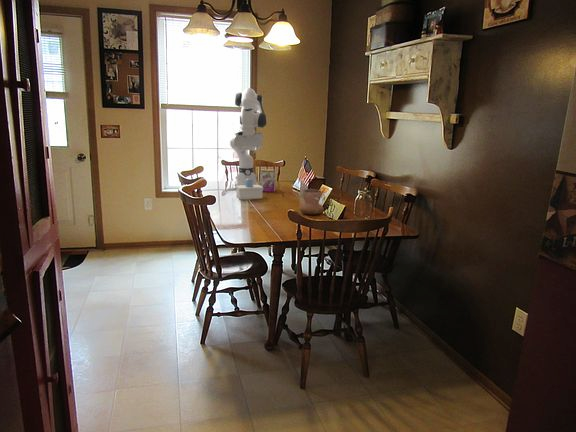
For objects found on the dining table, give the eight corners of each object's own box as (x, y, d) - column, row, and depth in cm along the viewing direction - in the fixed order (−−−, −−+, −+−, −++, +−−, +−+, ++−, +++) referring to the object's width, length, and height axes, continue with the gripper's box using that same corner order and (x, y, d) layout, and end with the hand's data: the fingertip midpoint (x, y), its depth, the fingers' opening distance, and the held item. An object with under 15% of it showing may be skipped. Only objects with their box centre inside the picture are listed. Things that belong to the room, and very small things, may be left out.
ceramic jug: (328, 216, 262) (329, 192, 259) (305, 217, 258) (305, 193, 254) (316, 209, 279) (317, 187, 275) (294, 211, 274) (295, 188, 271)
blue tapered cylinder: (245, 186, 309) (244, 178, 308) (252, 185, 310) (251, 178, 309) (246, 187, 304) (246, 179, 303) (253, 186, 305) (253, 179, 304)
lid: (235, 188, 311) (235, 185, 310) (258, 187, 316) (258, 184, 315) (239, 191, 299) (239, 188, 298) (263, 190, 304) (263, 187, 303)
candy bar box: (259, 191, 330) (259, 169, 326) (260, 190, 335) (260, 168, 331) (274, 192, 329) (274, 170, 325) (275, 190, 334) (275, 169, 330)
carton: (236, 196, 312) (236, 186, 311) (258, 195, 317) (258, 185, 315) (239, 200, 301) (239, 190, 300) (262, 198, 306) (262, 189, 304)
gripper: (261, 132, 306) (261, 152, 310) (232, 132, 300) (232, 152, 304) (263, 132, 300) (263, 153, 304) (234, 133, 294) (234, 153, 298)
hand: (248, 153), depth 304 cm, fingers open, 8 cm apart
